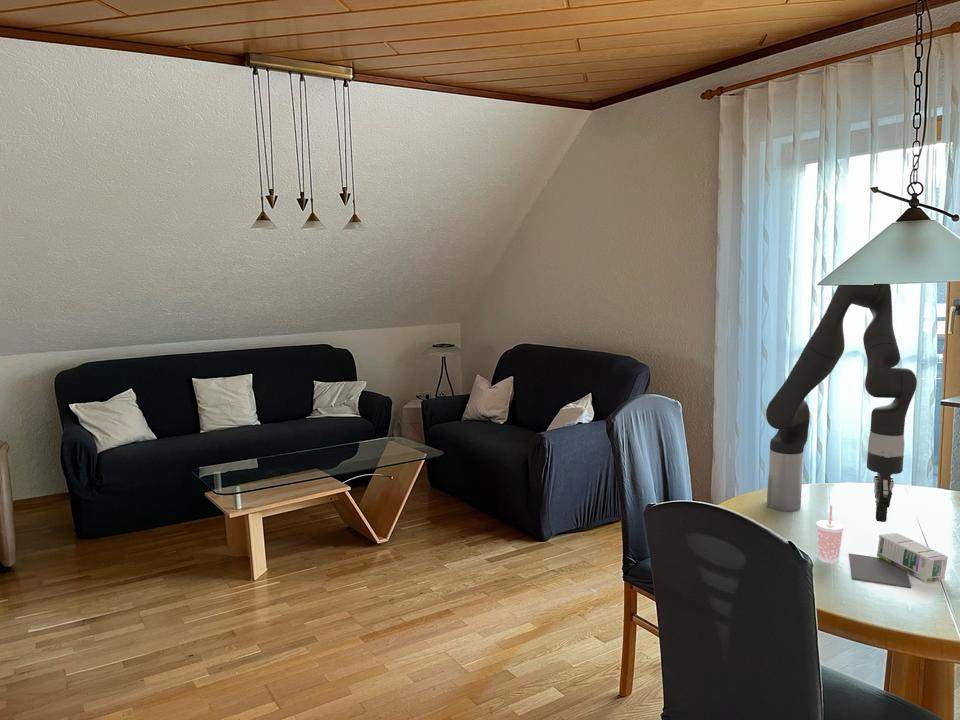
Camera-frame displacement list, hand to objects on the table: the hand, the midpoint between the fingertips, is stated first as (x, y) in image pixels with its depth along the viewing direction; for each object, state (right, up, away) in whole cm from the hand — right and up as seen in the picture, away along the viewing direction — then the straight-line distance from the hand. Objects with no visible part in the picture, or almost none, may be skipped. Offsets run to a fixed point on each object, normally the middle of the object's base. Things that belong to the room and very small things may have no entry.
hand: (880, 520), depth 177 cm
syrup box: (+4, -7, +6) cm, 10 cm away
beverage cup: (-10, -11, +5) cm, 16 cm away
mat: (-2, -12, -2) cm, 12 cm away
